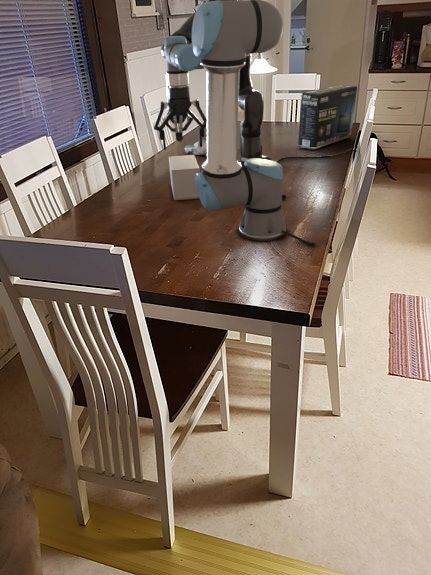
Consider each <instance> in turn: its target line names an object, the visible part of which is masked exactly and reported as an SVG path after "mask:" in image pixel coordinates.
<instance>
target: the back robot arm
mask: <svg viewBox="0 0 431 575" xmlns="http://www.w3.org/2000/svg"><path fill="white" fill-rule="evenodd" d="M211 1H217V0H207V2H211ZM220 1H231V0H220ZM196 11H197V10H196ZM196 11H194V12H193V13H192V14H191V15H190V16H188V18H187V19H186V20H185V21H184V22H183V23H182V25H181V26H180V27H179V28H177V30H176V31H174V32H173V33H172V34H171V35H170V36H184V37H186V41H187V44H193V43H192V25H193V20H194V16H195V13H196ZM164 47H165V43H164V42H163V43H162V44H161V47H160V53H161V56H162V58H163V59H164V60H166V58H165V50H164ZM251 66H252V54H250V55H248V56H246V64H245V65H244V66H243V67H242V68H241V69H240V71H239V102H238V108H239V109H241V110H242V111H243V120H241V122H240V123H239V126H240V127H239V128H240V130H239V132H240V133H239V135H240V139H239V140H240V141H239V142H240V144H239V145H240V149H239V150H240V163H241V165H242V167H243V166H244V163H245V160H248V159H252V158H259V159H267V160H272V161H273V159H272V158H271V157H269V156H267V155H263V144H262V124H263V121H264V109H265V100H264V96H263V94H262V92H260V91H259V90H255V89H254V87H253V82H252V79H251ZM165 85H166V89H165V93H166V94H165V95H166V102H169V94H168V88H169V87H170V86H168V82H167V69H166V70H165ZM166 108H167V112H166V116H167V115H168V113H169V112H170V110H171V109H170V108H169V106H167V107H166ZM166 116H165V117H164V118H162V122H163V121H164V119H165V118H166ZM185 121H186V123H185V124H184V122H185ZM193 121H194V119H193V118H192V117H191V116H190V115H189V114H188V113H186V114H179V115H176V114H173V116H172V117H171V118H170V120H169V121H168V123H167V124H166V126H165V127H167V128H168V129H169V130H170V132H171V133H175V140H176V141H177V142H178V143H179V142H180V143H182V141H183V140H184V135H183V133H184V131H185V132H186V131H187V130H188V129H189V127H190V125H191V124H192V122H193ZM169 122H171V123H172V124H173V126H174V127H173V126H172V124H170V123H169ZM183 124H184V125H183ZM352 151H353V152H357V150H356V149H355V148H354V150H352ZM320 156H321V157H302V156H284V157H285V158H282V157H280V158H279V159H277V160H276V161H275V162H277V163H279V162H280V161H282V160H289V159H290V160H291V159H294V160H295V159H302V160H303V159H325V158H332V157H334V156H332V157H331V156H327V155H320Z"/></svg>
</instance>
